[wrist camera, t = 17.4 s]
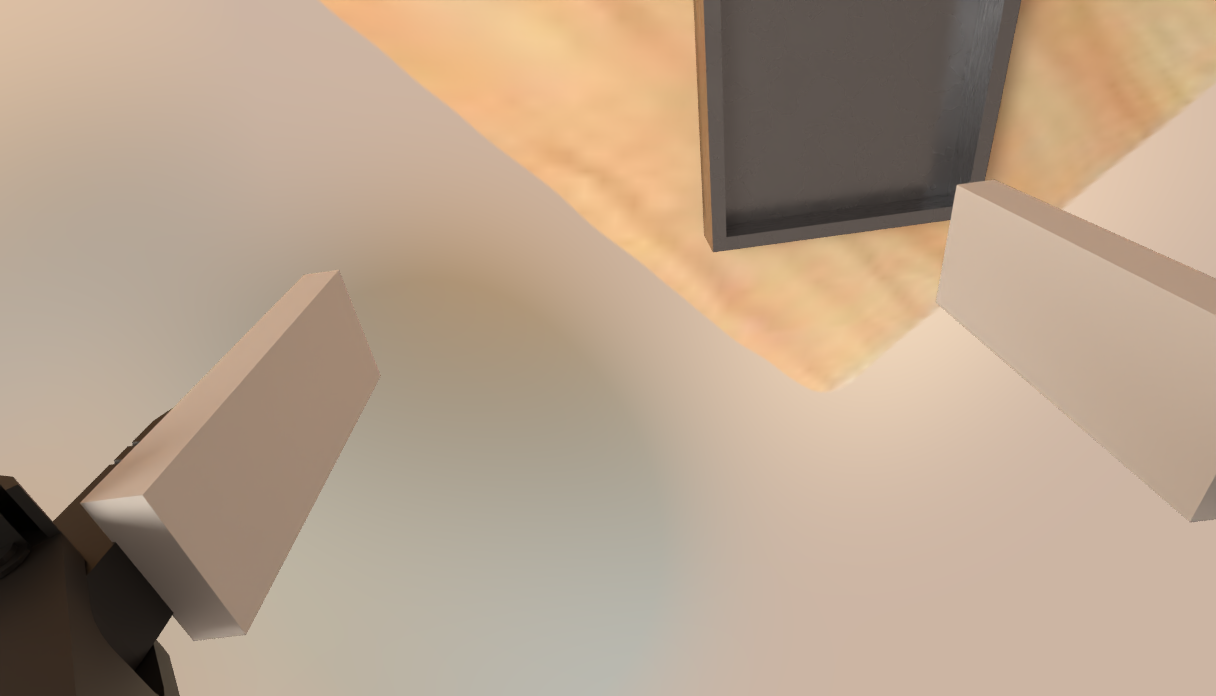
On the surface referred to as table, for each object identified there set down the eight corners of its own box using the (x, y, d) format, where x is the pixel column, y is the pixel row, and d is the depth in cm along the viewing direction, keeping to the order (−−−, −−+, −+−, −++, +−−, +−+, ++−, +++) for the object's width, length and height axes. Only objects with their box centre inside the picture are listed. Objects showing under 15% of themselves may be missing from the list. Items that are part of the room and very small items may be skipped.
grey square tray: (690, -59, 36) (701, -64, 33) (1005, -107, 35) (1044, -117, 32) (704, 235, 46) (712, 252, 43) (951, 201, 45) (977, 216, 42)
